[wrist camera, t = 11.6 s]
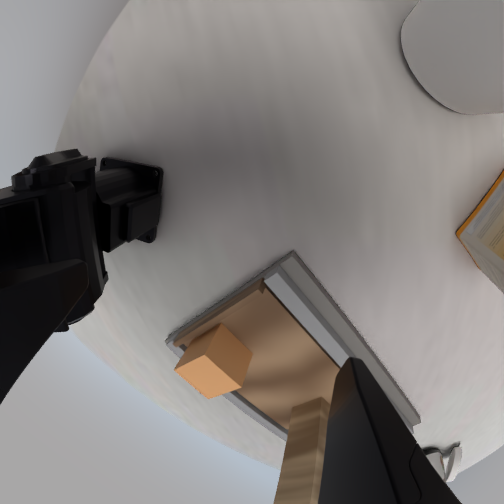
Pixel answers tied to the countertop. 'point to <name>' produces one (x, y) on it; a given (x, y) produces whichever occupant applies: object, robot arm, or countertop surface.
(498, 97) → the alcohol
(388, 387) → the track
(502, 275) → the supplement box
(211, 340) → the cube
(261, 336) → the tan l-shaped piece
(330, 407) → the robot arm
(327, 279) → the countertop surface
